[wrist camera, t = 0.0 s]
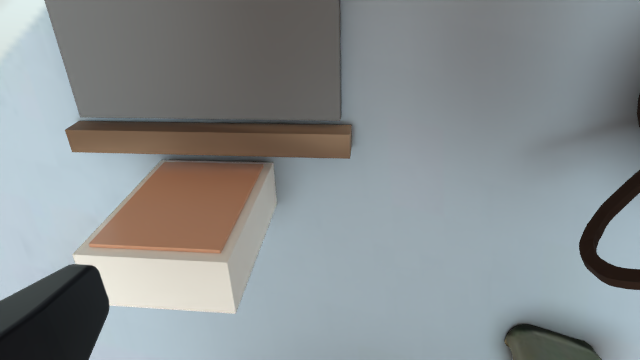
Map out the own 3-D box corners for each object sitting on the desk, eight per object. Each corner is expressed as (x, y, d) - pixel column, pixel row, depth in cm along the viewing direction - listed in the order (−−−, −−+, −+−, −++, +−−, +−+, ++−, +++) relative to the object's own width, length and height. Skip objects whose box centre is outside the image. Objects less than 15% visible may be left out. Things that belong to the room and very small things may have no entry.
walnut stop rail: (351, 147, 22) (349, 158, 21) (85, 142, 24) (72, 152, 23) (351, 124, 22) (349, 134, 21) (79, 120, 23) (64, 129, 22)
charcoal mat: (340, 116, 22) (340, 120, 21) (85, 113, 23) (80, 117, 23) (337, -139, 17) (337, -141, 16) (15, -122, 18) (6, -123, 18)
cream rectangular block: (277, 203, 24) (235, 313, 18) (170, 200, 25) (90, 304, 18) (273, 160, 23) (226, 259, 16) (161, 157, 24) (71, 251, 17)
